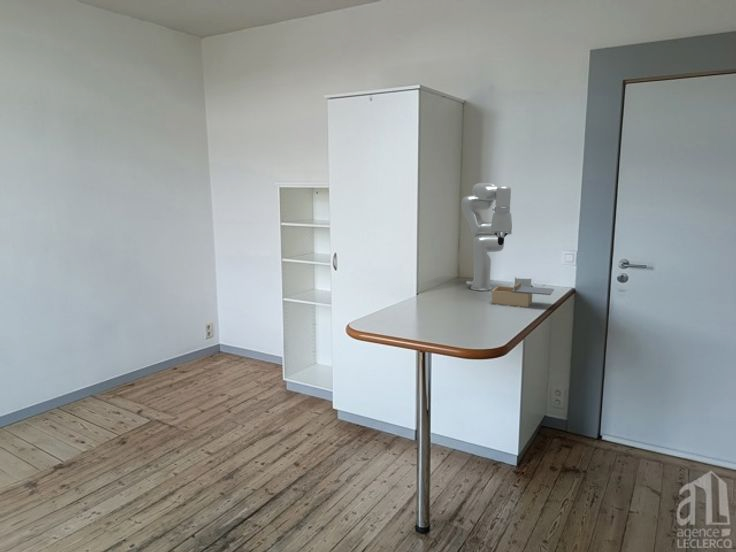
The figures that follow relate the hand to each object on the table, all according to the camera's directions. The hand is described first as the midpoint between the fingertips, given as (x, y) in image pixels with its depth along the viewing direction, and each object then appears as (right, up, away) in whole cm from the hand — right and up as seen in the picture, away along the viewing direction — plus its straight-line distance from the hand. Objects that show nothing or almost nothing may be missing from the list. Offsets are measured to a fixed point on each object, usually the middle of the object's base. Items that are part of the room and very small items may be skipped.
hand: (500, 244), depth 269 cm
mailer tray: (+4, -31, -8) cm, 32 cm away
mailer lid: (+13, -24, -13) cm, 30 cm away
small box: (+14, -28, +9) cm, 33 cm away
